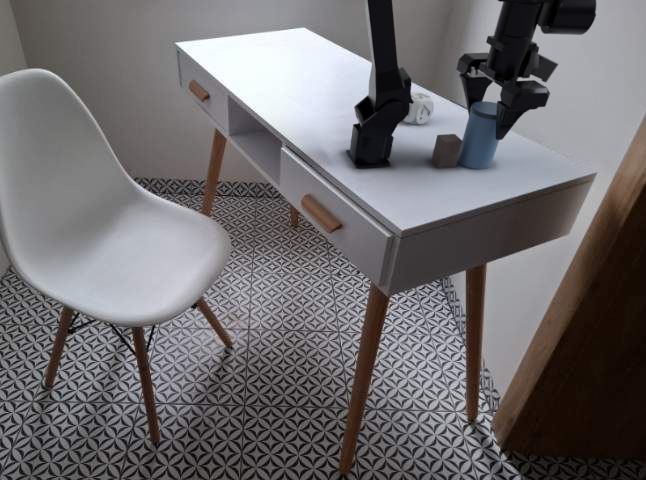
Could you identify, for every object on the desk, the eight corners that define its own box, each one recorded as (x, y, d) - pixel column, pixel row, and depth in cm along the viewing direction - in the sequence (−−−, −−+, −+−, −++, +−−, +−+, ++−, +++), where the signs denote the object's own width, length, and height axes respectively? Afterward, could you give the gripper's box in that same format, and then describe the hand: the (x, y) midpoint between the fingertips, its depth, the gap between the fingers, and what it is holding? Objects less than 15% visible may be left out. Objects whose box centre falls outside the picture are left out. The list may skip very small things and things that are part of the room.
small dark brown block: (438, 168, 92) (445, 142, 88) (431, 160, 94) (437, 134, 91) (455, 167, 92) (462, 141, 89) (447, 159, 94) (454, 133, 91)
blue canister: (448, 145, 87) (505, 96, 84) (432, 130, 92) (486, 83, 88) (477, 184, 94) (532, 140, 90) (461, 168, 98) (513, 125, 95)
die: (431, 122, 108) (436, 98, 104) (413, 126, 105) (418, 102, 102) (414, 113, 111) (419, 90, 108) (397, 118, 109) (401, 94, 105)
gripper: (599, 49, 75) (558, 149, 85) (526, 16, 88) (498, 106, 98) (531, 51, 73) (497, 153, 83) (467, 18, 87) (444, 108, 97)
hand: (485, 128), depth 90 cm, fingers open, 9 cm apart
